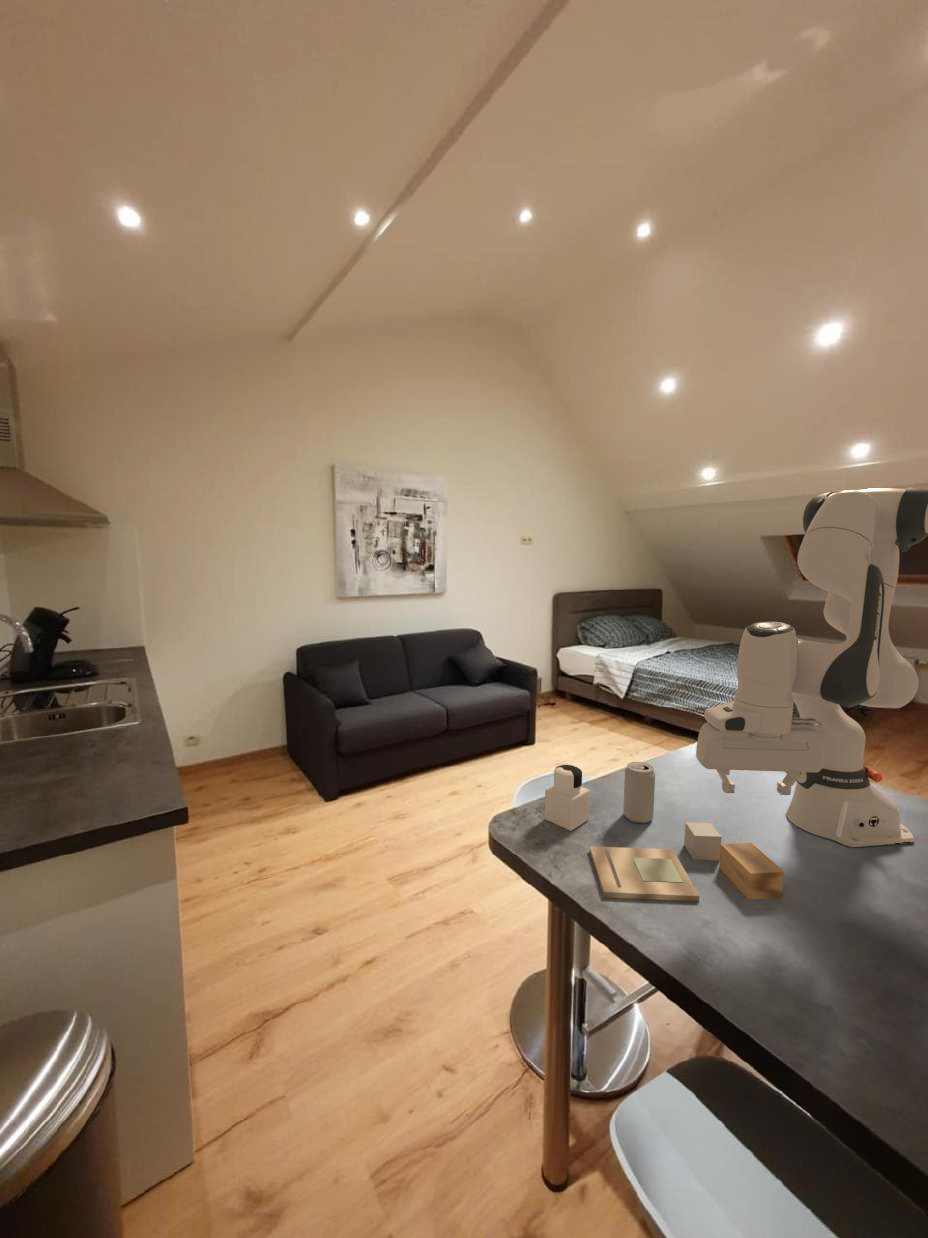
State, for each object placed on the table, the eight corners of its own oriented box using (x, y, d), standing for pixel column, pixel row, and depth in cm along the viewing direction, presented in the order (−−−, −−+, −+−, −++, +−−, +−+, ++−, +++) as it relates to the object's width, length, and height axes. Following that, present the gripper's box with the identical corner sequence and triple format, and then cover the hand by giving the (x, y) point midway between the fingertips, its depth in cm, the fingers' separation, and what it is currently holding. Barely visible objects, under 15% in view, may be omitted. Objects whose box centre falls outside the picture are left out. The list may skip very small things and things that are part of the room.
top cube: (709, 846, 106) (711, 823, 106) (719, 861, 101) (721, 836, 101) (684, 845, 107) (685, 822, 106) (693, 859, 102) (694, 835, 101)
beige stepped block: (562, 808, 121) (564, 759, 120) (589, 820, 116) (591, 768, 115) (543, 819, 116) (545, 768, 115) (571, 832, 111) (572, 778, 110)
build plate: (672, 854, 103) (672, 849, 103) (699, 901, 89) (699, 895, 89) (589, 851, 104) (589, 846, 104) (603, 897, 90) (604, 891, 90)
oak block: (749, 867, 99) (751, 842, 99) (781, 898, 91) (784, 871, 90) (719, 869, 99) (720, 844, 98) (748, 900, 90) (750, 873, 89)
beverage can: (655, 826, 114) (657, 773, 112) (624, 823, 115) (626, 771, 113) (650, 812, 120) (653, 761, 118) (621, 809, 121) (623, 759, 119)
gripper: (813, 712, 93) (806, 786, 95) (695, 709, 94) (690, 782, 96) (836, 724, 87) (828, 803, 89) (709, 721, 88) (703, 799, 90)
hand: (755, 792), depth 92 cm, fingers open, 8 cm apart
